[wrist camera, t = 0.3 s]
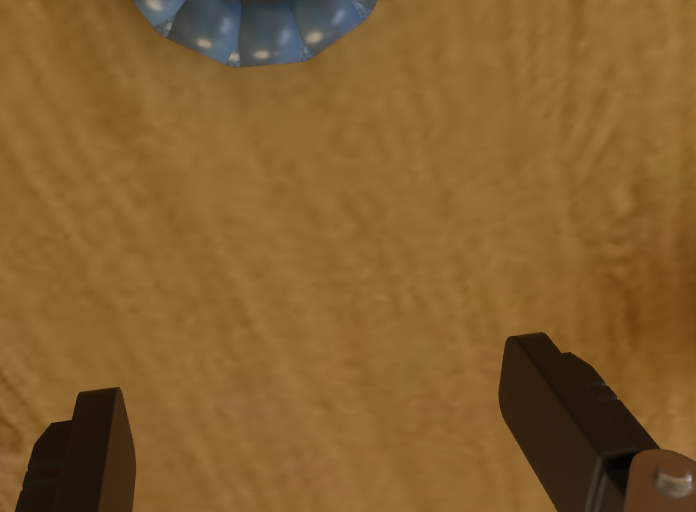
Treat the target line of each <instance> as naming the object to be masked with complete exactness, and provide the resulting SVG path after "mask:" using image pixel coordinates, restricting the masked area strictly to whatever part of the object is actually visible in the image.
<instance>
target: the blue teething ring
mask: <svg viewBox="0 0 696 512" xmlns="http://www.w3.org/2000/svg"><path fill="white" fill-rule="evenodd" d="M132 2H133V3H134V4H135V5H136V7H137V8H138V9H139V11H140V12H141V13H142V14H143V16H144V17H145V18H146V20H147V21H148V22H149V23H150V25H151V26H152V27H153V28H154V30H155V31H157V32H158V33H159V34H160V35H162V36H164V37H165V38H167V39H170V40H172V41H174V42H176V43H178V44H180V45H183V46H185V47H187V48H189V49H191V50H193V51H196V52H198V53H200V54H202V55H204V56H206V57H209V58H211V59H213V60H215V61H217V62H219V63H222V64H224V65H226V66H229V67H235V68H240V67H252V66H264V65H275V64H287V63H299V62H304V61H307V60H309V59H311V58H313V57H314V56H316V55H317V54H319V53H320V52H321V51H323V50H324V49H326V48H327V47H329V46H330V45H331V44H333V43H334V42H336V41H337V40H338V39H340V38H341V37H343V36H344V35H345V34H347V33H348V32H350V31H351V30H353V29H354V28H355V27H357V26H358V25H360V24H361V23H362V22H363V21H365V20H366V19H367V18H368V16H369V15H370V14H371V12H372V10H373V8H374V6H375V4H376V2H377V0H132Z"/></svg>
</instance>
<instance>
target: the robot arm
mask: <svg viewBox="0 0 696 512" xmlns="http://www.w3.org/2000/svg"><path fill="white" fill-rule="evenodd" d="M499 405H500V409H501V413H502V416H503V418H504V420H505V422H506V424H507V426H508V427H509V429H510V431H511V432H512V434H513V436H514V438H515V439H516V441H517V443H518V444H519V446H520V448H521V450H522V451H523V453H524V455H525V456H526V458H527V460H528V462H529V463H530V465H531V467H532V468H533V470H534V472H535V473H536V475H537V477H538V479H539V480H540V482H541V484H542V485H543V487H544V489H545V491H546V492H547V494H548V496H549V497H550V499H551V501H552V503H553V504H554V506H555V508H556V509H557V511H558V512H696V462H695V461H693V460H692V459H690V458H688V457H686V456H684V455H682V454H679V453H677V452H674V451H669V450H664V449H660V447H659V446H658V445H657V444H656V443H655V441H654V440H653V439H652V438H651V437H650V435H649V434H648V433H647V432H646V431H645V429H644V428H643V427H642V426H641V425H640V423H639V422H638V421H637V420H636V419H635V417H634V416H633V415H632V414H631V413H630V411H629V410H628V409H627V408H626V407H625V405H624V404H623V403H622V402H621V401H620V400H617V396H616V395H615V393H614V392H613V391H612V390H611V389H610V387H609V386H606V384H605V381H604V380H603V379H602V378H601V377H600V375H599V374H598V373H597V372H596V371H595V369H594V368H593V367H592V366H591V365H589V364H588V363H586V362H585V361H583V360H582V359H580V358H578V357H577V356H575V355H574V354H572V353H571V352H568V353H561V352H560V351H559V349H558V348H557V347H556V346H555V344H554V343H553V342H552V341H551V339H550V338H549V337H548V336H547V335H546V334H545V333H543V332H540V333H532V334H525V335H517V336H510V337H508V338H507V340H506V343H505V348H504V355H503V363H502V370H501V378H500V385H499ZM135 478H136V459H135V449H134V443H133V439H132V434H131V430H130V425H129V421H128V416H127V412H126V407H125V403H124V398H123V394H122V391H121V389H120V387H114V388H107V389H99V390H92V391H84V392H80V393H79V394H78V396H77V400H76V404H75V409H74V413H73V417H72V420H69V421H62V422H55V423H51V424H50V426H49V427H48V428H47V429H46V431H45V432H44V433H43V434H42V435H41V437H40V438H39V439H38V440H37V442H36V443H35V444H34V447H33V451H32V454H31V457H30V461H29V464H28V472H26V475H25V478H24V482H23V485H22V487H23V490H22V491H21V492H20V496H19V499H18V502H17V506H16V509H15V512H132V508H133V498H134V488H135Z"/></svg>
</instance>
